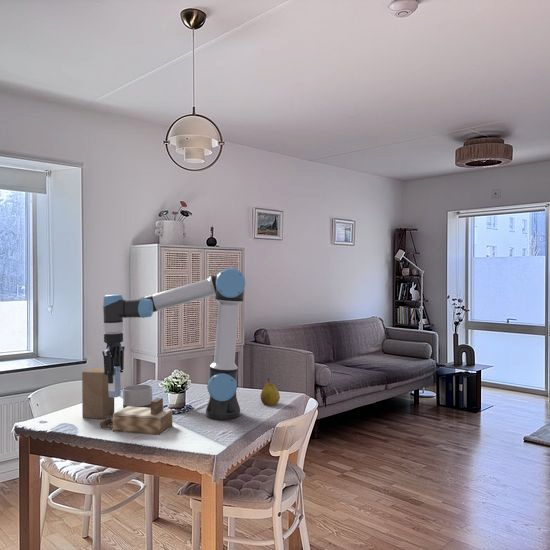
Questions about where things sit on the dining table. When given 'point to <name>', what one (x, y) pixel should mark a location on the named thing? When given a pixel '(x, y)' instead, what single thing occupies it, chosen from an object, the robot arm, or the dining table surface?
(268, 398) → the fruit
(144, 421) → the wooden box
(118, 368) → the light blue block
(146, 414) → the lid
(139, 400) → the planter
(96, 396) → the wooden block
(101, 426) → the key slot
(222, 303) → the robot arm
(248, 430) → the dining table surface
